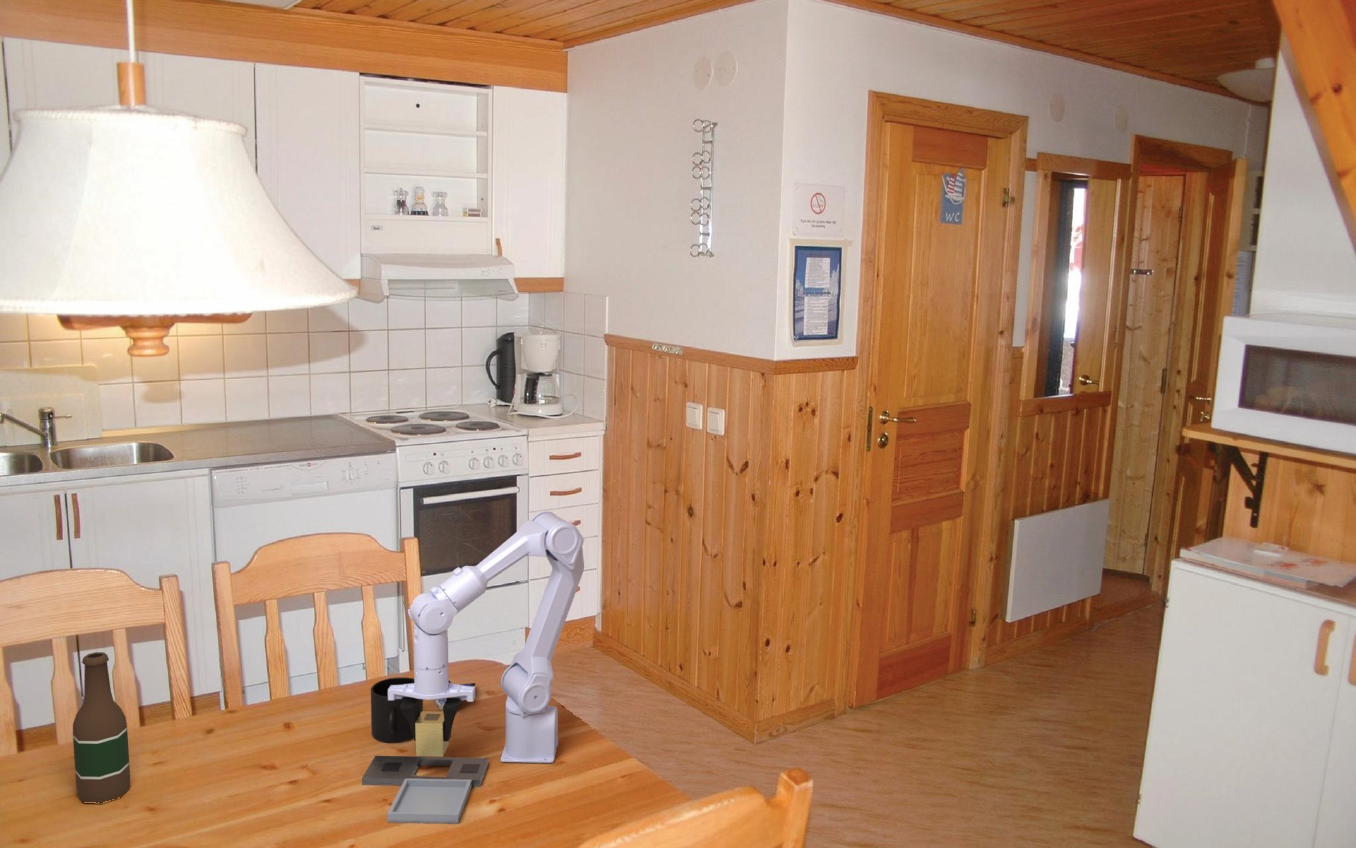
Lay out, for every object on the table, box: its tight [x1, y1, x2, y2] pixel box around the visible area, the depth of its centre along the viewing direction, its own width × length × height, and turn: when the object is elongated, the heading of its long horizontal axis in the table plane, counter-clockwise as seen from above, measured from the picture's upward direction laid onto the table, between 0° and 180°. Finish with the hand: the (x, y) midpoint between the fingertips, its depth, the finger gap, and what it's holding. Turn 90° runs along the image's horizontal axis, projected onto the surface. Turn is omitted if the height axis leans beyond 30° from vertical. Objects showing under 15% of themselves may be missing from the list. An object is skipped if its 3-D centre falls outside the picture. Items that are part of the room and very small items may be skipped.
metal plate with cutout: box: [361, 755, 489, 788], centre depth 178 cm, size 20×8×1 cm, turn 91°
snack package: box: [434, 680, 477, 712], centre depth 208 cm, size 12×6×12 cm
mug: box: [370, 676, 424, 744], centre depth 191 cm, size 9×12×9 cm
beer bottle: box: [72, 651, 131, 803], centre depth 167 cm, size 8×8×24 cm
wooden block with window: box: [415, 710, 450, 757], centre depth 177 cm, size 5×5×6 cm
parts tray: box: [386, 778, 473, 825], centre depth 168 cm, size 11×11×2 cm
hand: (432, 738), depth 177 cm, fingers closed on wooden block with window, 5 cm apart
